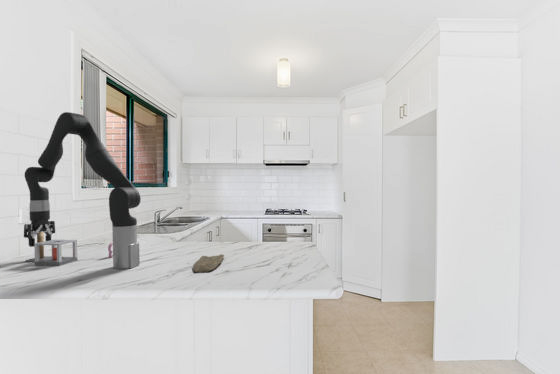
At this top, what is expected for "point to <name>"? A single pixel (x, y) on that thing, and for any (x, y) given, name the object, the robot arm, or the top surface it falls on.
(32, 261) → the pad
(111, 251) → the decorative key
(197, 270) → the stone tool
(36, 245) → the grey open cage
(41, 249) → the oak dowel
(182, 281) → the top surface
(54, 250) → the plunger
